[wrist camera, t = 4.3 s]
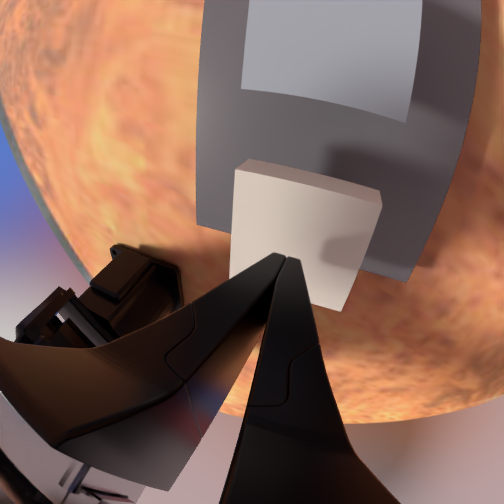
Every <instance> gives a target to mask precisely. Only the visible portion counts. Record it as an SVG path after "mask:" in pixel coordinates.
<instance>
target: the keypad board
mask: <svg viewBox="0 0 504 504" xmlns="http://www.w3.org/2000/svg"><path fill="white" fill-rule="evenodd" d="M248 10H249V0H205V3H204V12H203V22H202V33H201V45H200V59H199V75H198V95H197V124H196V218H197V225H200V226H204V227H208V228H212V229H215V230H219V231H223V232H227V233H230V234H231V231H232V212H233V195H234V178H235V169H236V168H237V167H239V166H240V165H241V164H242V163H244V162H245V161H246V160H248V159H253V160H258V161H263V162H268V163H273V164H278V165H283V166H287V167H292V168H296V169H301V170H305V171H309V172H313V173H317V174H322V175H325V176H329V177H333V178H337V179H341V180H344V181H348V182H352V183H355V184H359V185H362V186H366V187H369V188H372V189H376V190H379V191H380V195H381V200H382V205H383V206H382V209H381V212H380V215H379V218H378V221H377V224H376V227H375V229H374V232H373V235H372V238H371V240H370V243H369V246H368V248H367V251H366V254H365V256H364V259H363V261H362V264H361V266H360V270H364V271H367V272H371V273H374V274H378V275H381V276H385V277H388V278H392V279H395V280H398V281H402V282H405V283H406V282H407V280H408V279H409V277H410V275H411V273H412V271H413V269H414V267H415V265H416V263H417V261H418V259H419V257H420V255H421V253H422V251H423V249H424V246H425V244H426V242H427V240H428V238H429V236H430V233H431V231H432V229H433V226H434V224H435V222H436V219H437V217H438V215H439V212H440V210H441V207H442V205H443V202H444V199H445V197H446V194H447V191H448V189H449V186H450V183H451V180H452V177H453V174H454V171H455V168H456V165H457V162H458V158H459V155H460V152H461V148H462V145H463V141H464V137H465V133H466V129H467V125H468V121H469V117H470V112H471V107H472V102H473V97H474V91H475V85H476V79H477V72H478V63H479V54H480V41H481V0H422V16H421V29H420V40H419V49H418V57H417V64H416V71H415V77H414V83H413V89H412V94H411V100H410V105H409V110H408V114H407V119H406V123H403V122H400V121H397V120H394V119H391V118H388V117H385V116H382V115H378V114H375V113H371V112H368V111H364V110H360V109H357V108H353V107H349V106H345V105H340V104H336V103H332V102H327V101H322V100H317V99H312V98H307V97H301V96H295V95H289V94H282V93H275V92H267V91H258V90H248V89H241V83H242V71H243V60H244V49H245V39H246V29H247V19H248Z"/></svg>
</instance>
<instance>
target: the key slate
mask: <svg viewBox="0 0 504 504" xmlns="http://www.w3.org/2000/svg"><path fill="white" fill-rule="evenodd" d="M421 16H422V0H249V10H248V19H247V29H246V39H245V49H244V60H243V71H242V83H241V89H248V90H258V91H267V92H275V93H282V94H289V95H295V96H301V97H307V98H312V99H317V100H322V101H327V102H332V103H336V104H340V105H345V106H349V107H353V108H357V109H360V110H364V111H368V112H371V113H375V114H378V115H382V116H385V117H388V118H391V119H394V120H397V121H400V122H403V123H406V119H407V114H408V110H409V105H410V100H411V94H412V89H413V83H414V77H415V71H416V64H417V57H418V49H419V40H420V29H421Z"/></svg>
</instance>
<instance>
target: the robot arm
mask: <svg viewBox="0 0 504 504" xmlns="http://www.w3.org/2000/svg"><path fill="white" fill-rule="evenodd" d="M110 252H111V256H112V261H111V262H110V263H109V264H108V265H107V266H106V267H105V268H104V269H103V270H102V271H101V272H100V273H98V274H97V275H96V276H95V277H94V278H93V279H92V280H91V282H90V287H89V288H88V289H87V290H86V291H85V292H84V293H83V294H82V295H81V296H80V297H79V298H77V297H76V295H75V292H74V291H73V290H72V289H71V288H69V289H68V290H67V291H66V290H64V289H62V288H61V287H58V288H57V289H56V290H55V291H54V292H53V293H52V294H51V295H50V296H49V297H48V298H47V299H46V300H44V301H43V302H42V303H41V304H40V305H39V306H38V307H37V308H35V309H34V310H33V311H32V312H31V313H30V314H29V315H28V316H27V317H25V318H24V319H23V320H22V321H21V322H20V323H19V324H18V325H17V326H16V340H15V341H14V342H11V341H9V340H6V339H4V338H2V337H0V504H136V502H137V500H138V499H139V497H140V495H141V493H142V492H143V490H144V488H145V486H149V487H153V488H156V489H160V490H164V491H169V490H170V488H171V487H172V485H173V484H174V482H175V480H176V479H177V477H178V476H179V474H180V473H181V471H182V470H183V468H184V467H185V465H186V463H187V462H188V460H189V459H190V457H191V455H192V454H193V452H194V451H195V449H196V447H197V446H198V444H199V442H200V441H201V438H202V437H203V436H204V434H205V433H206V431H207V429H208V428H209V426H210V424H211V423H212V421H213V419H214V417H215V416H216V414H217V412H218V411H219V409H220V407H221V405H222V404H223V402H224V400H225V399H226V397H227V395H228V393H229V392H230V390H231V388H232V386H233V385H234V383H235V381H236V379H237V377H238V376H239V374H240V372H241V370H242V368H243V367H244V365H245V363H246V361H247V359H248V357H249V356H250V354H251V352H252V350H253V348H254V346H255V344H256V343H257V341H258V339H259V337H260V335H261V333H262V331H263V329H264V327H265V330H264V335H263V339H262V343H261V348H260V352H259V356H258V361H257V365H256V369H255V373H254V378H253V382H252V386H251V390H250V394H249V398H248V402H247V406H246V410H245V414H244V418H243V422H242V426H241V430H240V433H239V437H238V440H237V444H236V447H235V451H234V455H233V458H232V461H231V465H230V468H229V472H228V475H227V478H226V482H225V485H224V488H223V491H222V495H221V498H220V501H219V504H401V503H400V502H399V501H398V500H397V499H396V498H395V497H394V496H393V495H392V494H391V493H390V492H389V491H388V490H387V488H386V487H385V486H384V485H383V484H382V483H381V482H380V481H379V480H378V479H377V477H376V476H375V475H374V474H373V473H372V472H371V471H370V470H369V468H368V467H367V466H366V465H365V464H364V463H363V462H362V460H361V459H360V458H359V457H358V455H357V454H356V453H355V451H354V449H353V447H352V445H351V443H350V441H349V439H348V436H347V433H346V431H345V427H344V424H343V421H342V418H341V415H340V412H339V409H338V407H337V404H336V401H335V398H334V395H333V392H332V389H331V386H330V382H329V379H328V376H327V373H326V369H325V365H324V360H323V356H322V351H321V346H320V344H319V338H318V333H317V328H316V324H315V319H314V315H313V310H312V306H311V301H310V297H309V293H308V289H307V284H306V280H305V276H304V272H303V268H302V264H301V260H300V259H297V258H294V257H290V256H288V257H286V256H285V255H283V254H279V253H276V252H273V253H271V254H269V255H268V256H266V257H265V258H263V259H261V260H260V261H258V262H256V263H255V264H253V265H251V266H250V267H248V268H247V269H245V270H243V271H242V272H240V273H238V274H237V275H235V276H233V277H232V278H230V279H229V280H227V281H225V282H224V283H222V284H220V285H219V286H217V287H215V288H214V289H212V290H210V291H209V292H207V293H205V294H204V295H202V296H200V297H199V298H197V299H195V300H194V301H192V303H189V304H187V305H185V306H184V302H183V294H182V286H181V277H180V271H179V269H178V268H177V267H176V266H175V265H172V264H169V263H166V262H163V261H161V260H158V259H155V258H152V257H149V256H146V255H143V254H141V253H138V252H135V251H132V250H129V249H127V248H124V247H121V246H118V245H113V246H112V247H111V248H110ZM58 313H59V314H60V315H61V316H62V317H63V319H64V320H65V321H64V322H63V323H62V322H61V321H60V320H59V318H58V317H57V316H56V315H57V314H58ZM265 325H266V326H265Z"/></svg>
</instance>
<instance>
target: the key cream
mask: <svg viewBox="0 0 504 504" xmlns="http://www.w3.org/2000/svg"><path fill="white" fill-rule="evenodd" d="M382 206H383V205H382V200H381V195H380V191H379V190H376V189H372V188H369V187H366V186H362V185H359V184H355V183H352V182H348V181H344V180H341V179H337V178H333V177H329V176H325V175H322V174H317V173H313V172H309V171H305V170H301V169H296V168H292V167H287V166H283V165H278V164H273V163H268V162H263V161H258V160H253V159H248V160H246V161H245V162H244V163H242V164H241V165H240V166H239V167H237V168H236V169H235V178H234V195H233V212H232V231H231V251H230V273H229V279H230V278H232V277H233V276H235V275H237V274H238V273H240V272H242V271H243V270H245V269H247V268H248V267H250V266H251V265H253V264H255V263H256V262H258V261H260V260H261V259H263V258H265V257H266V256H268V255H269V254H271V253H273V252H276V253H279V254H283V255H285V256H286V257H288V256H290V257H294V258H297V259H300V260H301V264H302V268H303V272H304V276H305V280H306V284H307V289H308V293H309V297H310V301H311V304H315V305H318V306H322V307H325V308H329V309H332V310H336V311H340V312H341V310H342V308H343V306H344V304H345V302H346V299H347V297H348V295H349V292H350V290H351V288H352V285H353V283H354V281H355V278H356V276H357V274H358V271H359V269H360V266H361V264H362V261H363V259H364V256H365V254H366V251H367V248H368V246H369V243H370V240H371V238H372V235H373V232H374V229H375V227H376V224H377V221H378V218H379V215H380V212H381V209H382Z"/></svg>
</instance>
